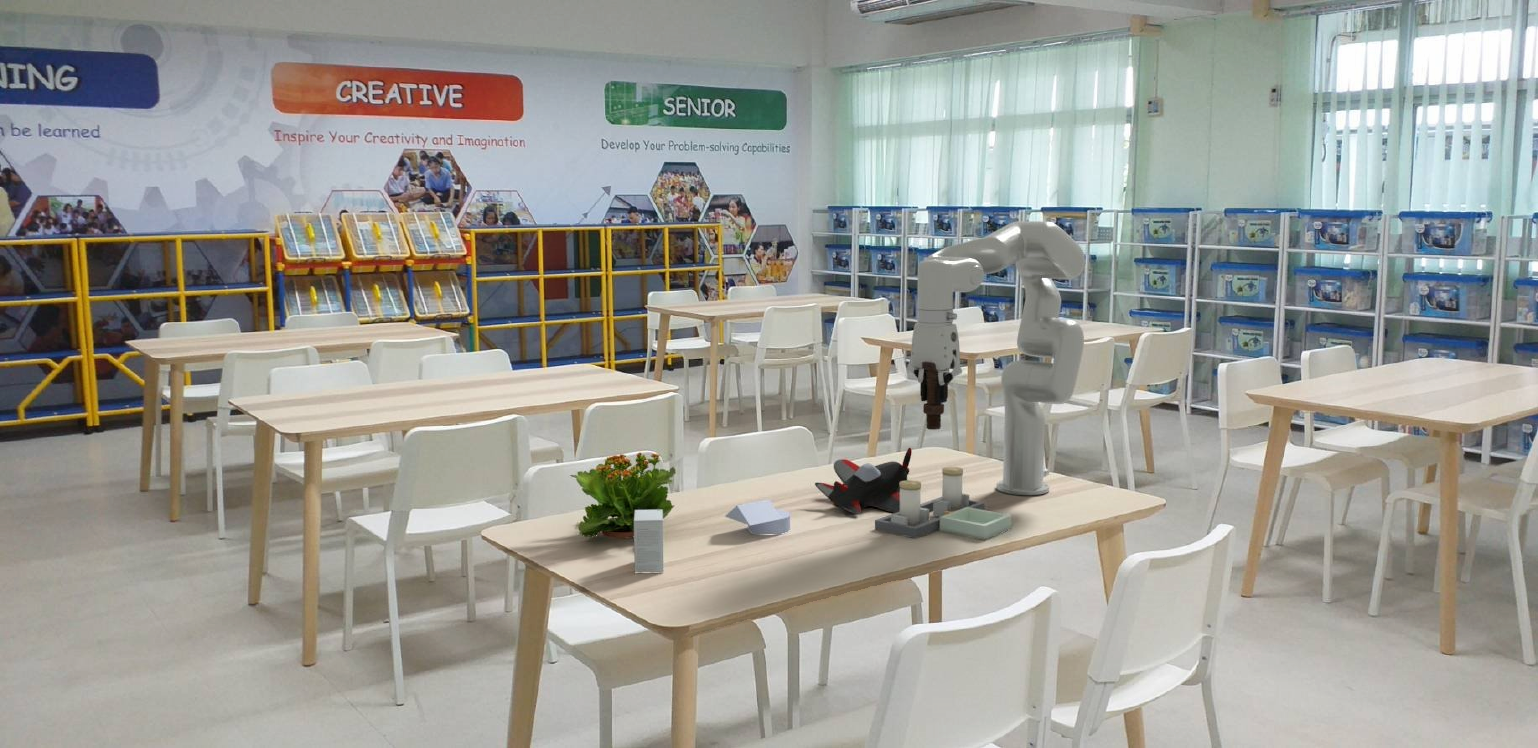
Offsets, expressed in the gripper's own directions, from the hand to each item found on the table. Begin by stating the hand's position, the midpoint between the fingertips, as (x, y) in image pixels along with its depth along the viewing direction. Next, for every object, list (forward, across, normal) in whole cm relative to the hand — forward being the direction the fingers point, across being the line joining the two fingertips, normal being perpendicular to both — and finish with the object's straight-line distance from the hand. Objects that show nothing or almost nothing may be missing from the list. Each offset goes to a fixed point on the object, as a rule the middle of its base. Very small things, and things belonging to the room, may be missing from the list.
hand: (933, 400), depth 256 cm
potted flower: (+26, +45, +50) cm, 72 cm away
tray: (+27, -12, +1) cm, 29 cm away
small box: (+26, +23, +64) cm, 73 cm away
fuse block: (+27, 0, 0) cm, 27 cm away
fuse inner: (+27, 0, -8) cm, 28 cm away
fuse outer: (+27, 0, +9) cm, 28 cm away
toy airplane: (+27, +19, -2) cm, 33 cm away
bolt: (+6, 0, 0) cm, 6 cm away
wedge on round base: (+27, +23, +31) cm, 47 cm away
